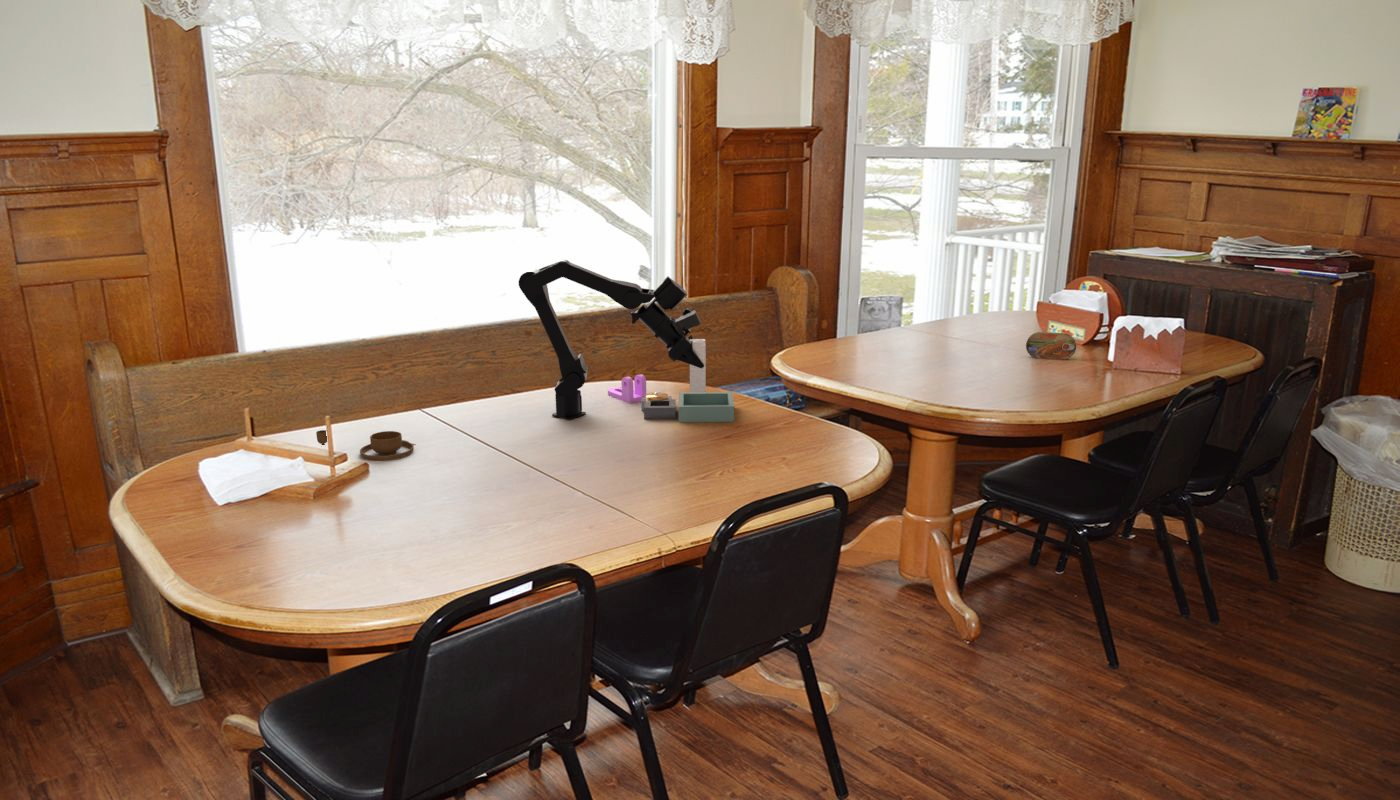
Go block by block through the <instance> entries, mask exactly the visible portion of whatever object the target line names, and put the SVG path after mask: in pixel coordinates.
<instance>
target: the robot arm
mask: <svg viewBox="0 0 1400 800" xmlns="http://www.w3.org/2000/svg"><path fill="white" fill-rule="evenodd" d="M562 278H564V279H567V280H569V281H571V282H575V283H577V284H579V285H582V286H584V287H586V288H589V289H591V290H595V292H596V291H597V292H599V293H602V294H604V295H606V296H607V297H608V298H610V299H611V300H613V301H614V302H615V303H617V304H619V305H621V306H622V307H623V308H625V309H627V310H635V309H637V310H636V311H631V312H630V316H631V324H632V325H633V324H636V323H637V321H638V320H639V321H641V322H642V323H643V325H644V326H646V327H647V329H649V330H650V331H651V332H652V333H653V335H654V337H655V338H657V339H659V340H660V341H661V342H662V343H663V344H664V345H665V348H666V349H668V352H667V353H668V354H667V355H668V358H669V359H670V360H671V361H673V362H675V361H679V362H682V363H685V364H688V365H690V364H691V365H693V366H696V367H698V368H701V369H702V368H703V367H704V364H703V363H702V361H701V360H700V358H699V357H698V356H697V354H696V353H695V352H694V350H693V342H692V341H690V339H693V334H692V328H694V327H698V326H699V325H701V324H702V323H701V322H702V321H701V319H700V317H699V314H698V313H697V311H696V310H694V309H693V310H691V309H689V308H688V307H687V308H685V309H683V311H682V315H680V316H679V318H675V317H674V316H671V315H670V316H669V315H668V314H667V313H666V311H669V310H670V311H673V310H674V309H675V308H676V307H677V306H678V305H679V304H680V303H681V302H682V301H684V299H685V298H686V297H687V296H688V293H687V291H686V290H685V289H684V288H683V286H681V285H680V284H679V283H677V282H676V281H675V280H674V279H672V278H671V277H670V276H668V275H667V276H666V277H665V278H664V280H663V281H662V283H660V284H659V285H658V287H656V289H650V288H643V287H641V286H640V284H637V283H634V282H629V281H625V280H618V279H611V278H609V277H607V276H605V275H602V274H600V273H597V272H595V271H592V270H590V269H588V268H585V267H582V266H580V265H577V264H575V263H572V262H570V261H569V260H567V259H564V258H563V259H560V260H558V261H556V262H554V263H552V264H548V265H546V266H542V267H541V268H536V267H535V268H533V267H532V268H528V269H527V270H525V271H524V272H523V273H522V274H521V275H520V277H519V278H518V287H519V289H520V291H521V292H522V293H523V295H524V296H525V298H526V300H527V301H529V303H530V304H531V305H532V306H533V307H534V309H535V311H536V313H537V315H538V318H539V319H540V322H541V323H542V326H543V328H544V330H545V333H546V335H547V338H548V339H549V341H550V343H551V345H552V347H553V348H552V349H553V350H554V353H555V355H556V356H557V360H558V367H559V371H560V375H561V377H560V379H559V380H558V381H557V384H556V385H555V387H554V392H555V412H554V413H551V417H554V418H555V417H556V418H561V419H566V420H573V419H575V418H579V417H582V416H585V415H587V412H586V411H583V403H582V402H583V401H582V399H583V398H582V393H581V392H582V391H581V388H583V386H584V384H585V382H586V380H587V377H588V369H589V365H588V364H587V363H586V362H585V359H584V355H583V353H579V354H578V355H577V354H576V353H575V351H574V350H573V349H572V346H571V345H570V344H571V343H570V342H569V340H568V338H567V336H566V333H565V331H564V329H563V327H562V325H561V323H560V320H559V317H558V316H557V314H556V311H555V309H554V307H553V305H552V303H551V299H550V293H549V288H548V284H550V283H552V282H554V281H557V280H559V279H562ZM647 303H648V304H647ZM688 334H690V335H689V336H688ZM579 389H580V390H579Z"/></svg>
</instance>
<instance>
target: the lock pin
mask: <svg viewBox="0 0 1400 800" xmlns="http://www.w3.org/2000/svg"><path fill="white" fill-rule="evenodd" d="M690 341H692V342H693V350H694V352H695V353H696V354H697V356H698V357H699V358H700V360H701V361H702V363H703V364H704V367H703V368H702V369H701V368H698V367H696V366H693V365H691V364H689V393H698V392H707V391H706V387H707V386H706V385H707V384H706V381H707V380H706V378H707V377H706V376H707V375H706V364H707V363H706V359H707V358H706V356H707V355H706V346H707V345H706V339H705V338H692V339H690Z"/></svg>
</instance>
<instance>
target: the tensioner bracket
mask: <svg viewBox="0 0 1400 800" xmlns="http://www.w3.org/2000/svg"><path fill="white" fill-rule="evenodd" d="M640 404H641V405H640V407H641V411H642V412H643V420H675V419H676V415H677V412H676V408H677V406H676V404H677V403H676V399H673V396H669V394H668V393H666V392H662V391H661V392H658V391H655V392H650V393H649V392H648V393H646V395H645V397H642V400H641V401H640Z"/></svg>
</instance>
